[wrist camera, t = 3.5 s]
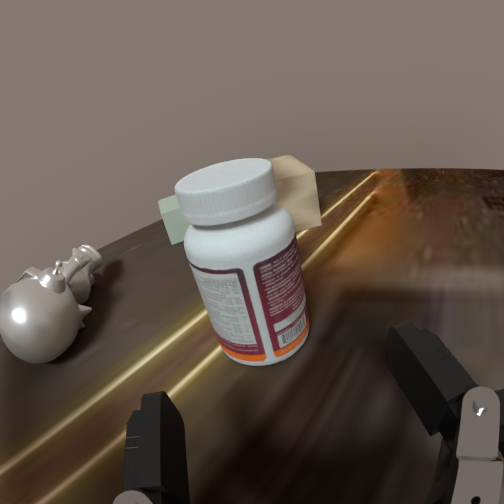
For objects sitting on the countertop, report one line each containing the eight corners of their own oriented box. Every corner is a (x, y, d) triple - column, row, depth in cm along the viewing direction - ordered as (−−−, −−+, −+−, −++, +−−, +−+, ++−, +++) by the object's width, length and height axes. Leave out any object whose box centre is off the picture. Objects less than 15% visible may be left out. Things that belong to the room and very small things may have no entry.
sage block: (171, 245, 37) (161, 214, 36) (167, 228, 43) (157, 200, 41) (219, 228, 39) (211, 197, 37) (209, 213, 44) (201, 186, 42)
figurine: (81, 212, 31) (-13, 258, 16) (137, 248, 32) (65, 320, 18) (53, 287, 33) (-23, 354, 19) (102, 321, 35) (41, 405, 20)
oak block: (238, 247, 33) (224, 192, 31) (229, 216, 41) (218, 171, 38) (321, 225, 34) (314, 171, 31) (297, 199, 42) (289, 154, 39)
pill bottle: (300, 298, 24) (274, 148, 19) (319, 358, 19) (294, 174, 13) (220, 316, 24) (174, 172, 19) (220, 377, 19) (153, 207, 14)
